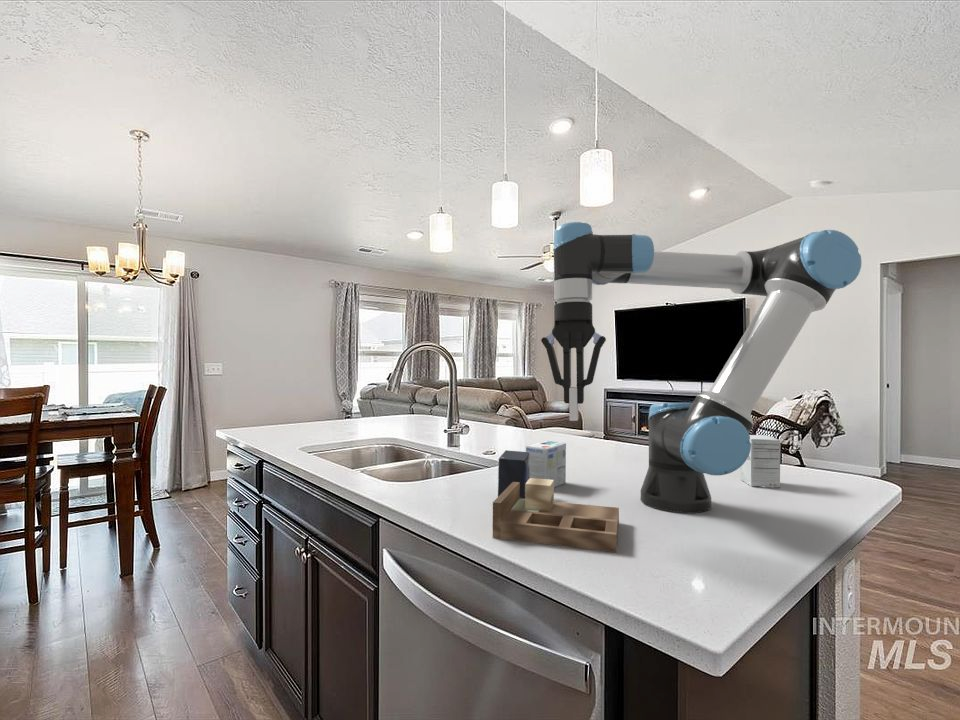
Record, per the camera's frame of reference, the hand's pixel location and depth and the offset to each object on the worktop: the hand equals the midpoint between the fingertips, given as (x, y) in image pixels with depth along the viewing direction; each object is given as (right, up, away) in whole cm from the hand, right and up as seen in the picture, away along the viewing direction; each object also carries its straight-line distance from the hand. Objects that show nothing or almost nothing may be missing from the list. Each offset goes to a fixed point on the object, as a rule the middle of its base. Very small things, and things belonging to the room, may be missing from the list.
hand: (574, 419), depth 99 cm
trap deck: (-4, -21, -4) cm, 21 cm away
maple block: (-7, -18, +1) cm, 19 cm away
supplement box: (+56, -21, +32) cm, 68 cm away
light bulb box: (-2, -21, +30) cm, 37 cm away
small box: (-11, -21, +17) cm, 29 cm away
